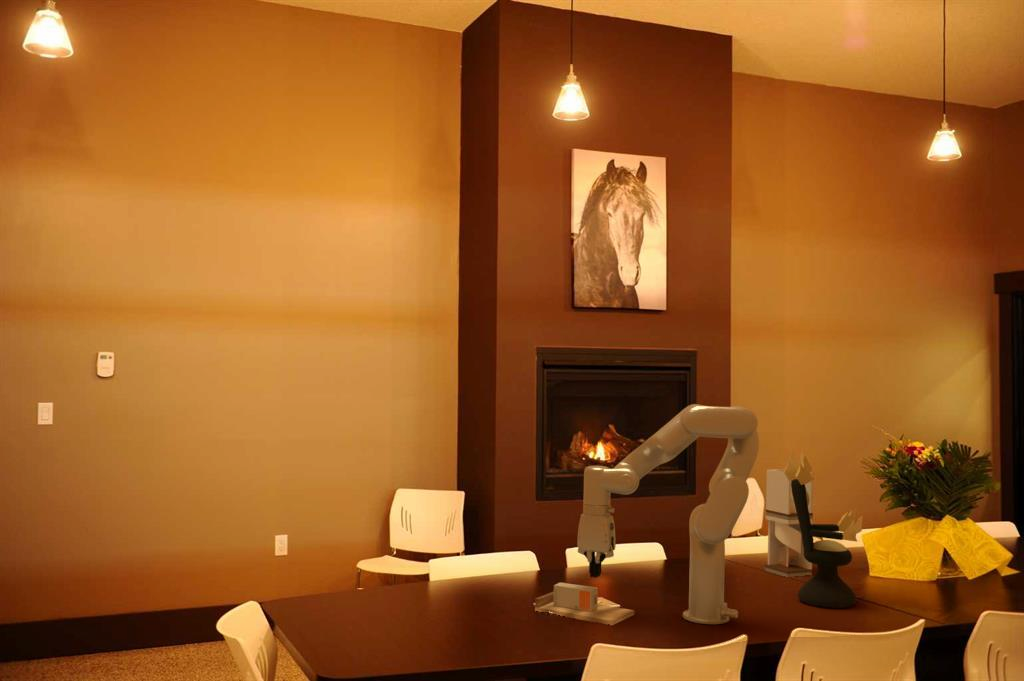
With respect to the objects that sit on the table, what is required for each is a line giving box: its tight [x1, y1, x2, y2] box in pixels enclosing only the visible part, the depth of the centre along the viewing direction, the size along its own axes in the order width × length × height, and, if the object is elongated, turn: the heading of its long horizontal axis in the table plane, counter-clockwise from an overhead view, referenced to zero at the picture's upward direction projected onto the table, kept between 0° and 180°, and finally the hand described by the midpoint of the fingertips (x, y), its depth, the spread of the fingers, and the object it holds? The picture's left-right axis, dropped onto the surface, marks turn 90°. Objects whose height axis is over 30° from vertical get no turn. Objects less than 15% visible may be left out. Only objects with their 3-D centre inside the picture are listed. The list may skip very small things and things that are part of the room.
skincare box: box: [553, 582, 599, 612], centre depth 271 cm, size 6×4×12 cm
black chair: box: [784, 451, 864, 609], centre depth 291 cm, size 19×22×45 cm
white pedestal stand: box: [764, 468, 814, 578], centre depth 332 cm, size 11×11×35 cm
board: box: [534, 591, 635, 626], centre depth 270 cm, size 24×14×4 cm, turn 58°
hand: (595, 576), depth 269 cm, fingers closed
